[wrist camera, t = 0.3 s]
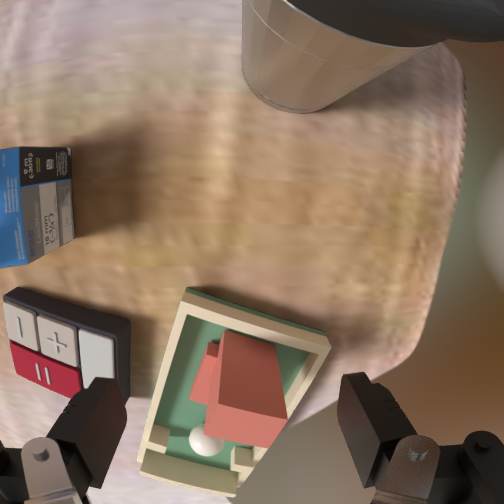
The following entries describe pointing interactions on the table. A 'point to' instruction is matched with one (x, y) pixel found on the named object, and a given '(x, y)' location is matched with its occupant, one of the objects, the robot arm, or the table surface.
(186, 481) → the pitch
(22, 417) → the table surface
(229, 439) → the block
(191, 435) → the ball
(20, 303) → the calculator
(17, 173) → the label tape cartridge
